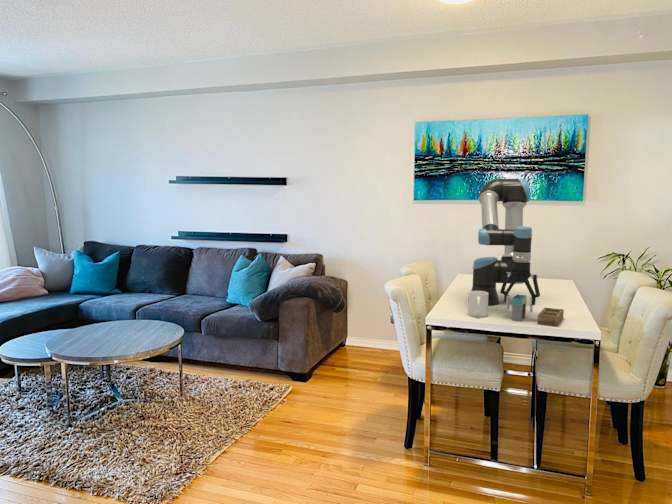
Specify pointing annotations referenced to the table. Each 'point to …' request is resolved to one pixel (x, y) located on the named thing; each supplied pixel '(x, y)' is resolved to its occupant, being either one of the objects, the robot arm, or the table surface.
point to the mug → (478, 303)
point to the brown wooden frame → (550, 316)
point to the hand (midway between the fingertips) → (519, 310)
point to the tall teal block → (519, 307)
